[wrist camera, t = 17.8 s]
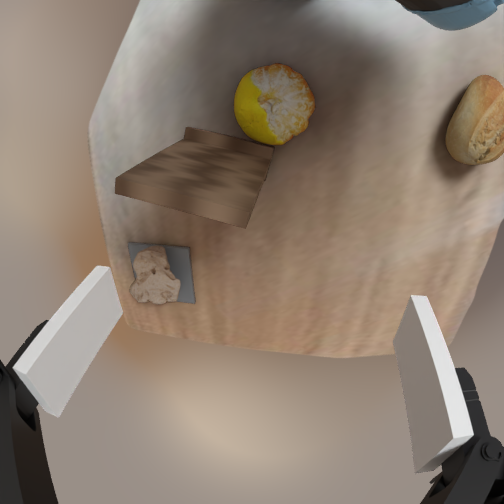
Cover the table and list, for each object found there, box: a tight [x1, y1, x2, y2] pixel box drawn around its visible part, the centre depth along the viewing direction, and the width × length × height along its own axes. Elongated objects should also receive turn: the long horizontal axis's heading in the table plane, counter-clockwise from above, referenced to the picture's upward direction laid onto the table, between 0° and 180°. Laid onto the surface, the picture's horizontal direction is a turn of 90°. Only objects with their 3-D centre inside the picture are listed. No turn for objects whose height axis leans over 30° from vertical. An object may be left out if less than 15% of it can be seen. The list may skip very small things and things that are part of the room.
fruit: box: [234, 63, 316, 145], centre depth 37 cm, size 11×10×8 cm
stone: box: [129, 245, 181, 305], centre depth 54 cm, size 9×11×5 cm
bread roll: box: [446, 75, 504, 165], centre depth 32 cm, size 10×15×8 cm, turn 160°
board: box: [115, 127, 274, 229], centre depth 36 cm, size 13×5×20 cm, turn 76°
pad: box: [128, 242, 196, 304], centre depth 57 cm, size 12×12×1 cm
